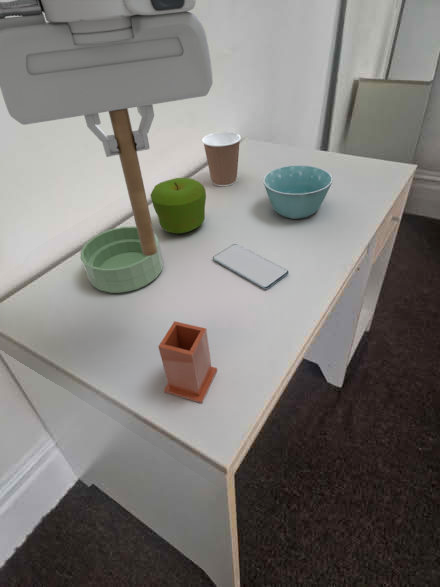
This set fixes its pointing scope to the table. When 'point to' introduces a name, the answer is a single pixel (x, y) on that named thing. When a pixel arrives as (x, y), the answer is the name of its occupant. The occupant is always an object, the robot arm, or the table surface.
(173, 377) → the utensil holder
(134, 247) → the green round dish
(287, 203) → the bowl
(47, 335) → the table surface
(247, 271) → the smartphone
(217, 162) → the coffee cup
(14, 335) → the table surface
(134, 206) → the stirring stick
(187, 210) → the apple
